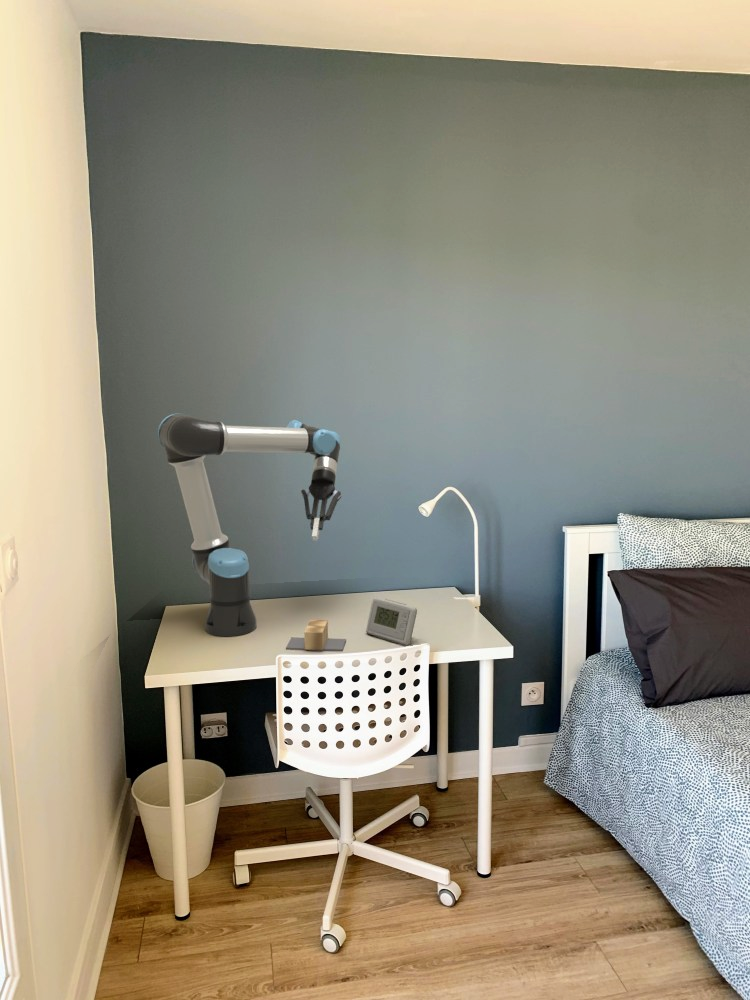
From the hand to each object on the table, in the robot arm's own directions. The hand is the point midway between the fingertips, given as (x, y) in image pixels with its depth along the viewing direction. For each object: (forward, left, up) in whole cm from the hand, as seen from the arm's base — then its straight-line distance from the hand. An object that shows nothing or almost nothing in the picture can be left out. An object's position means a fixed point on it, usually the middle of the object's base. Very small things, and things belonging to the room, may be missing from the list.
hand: (314, 538), depth 236 cm
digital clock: (+24, -14, -26) cm, 39 cm away
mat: (+4, -22, -26) cm, 34 cm away
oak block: (+4, -16, -23) cm, 28 cm away
